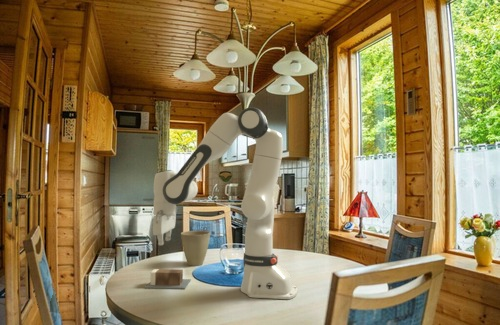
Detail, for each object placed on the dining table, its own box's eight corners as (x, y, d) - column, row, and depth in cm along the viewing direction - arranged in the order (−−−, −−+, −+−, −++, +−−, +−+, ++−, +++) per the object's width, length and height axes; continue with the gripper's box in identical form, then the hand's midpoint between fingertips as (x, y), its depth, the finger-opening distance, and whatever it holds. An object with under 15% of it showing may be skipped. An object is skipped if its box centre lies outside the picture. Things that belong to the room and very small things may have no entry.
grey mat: (190, 280, 143) (190, 279, 143) (184, 289, 132) (184, 287, 132) (153, 280, 144) (153, 278, 144) (144, 288, 133) (144, 286, 133)
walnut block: (182, 269, 140) (154, 269, 141) (179, 272, 135) (150, 272, 136) (182, 281, 140) (154, 281, 140) (179, 285, 135) (150, 284, 135)
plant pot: (211, 260, 178) (212, 230, 179) (207, 268, 163) (208, 235, 164) (183, 260, 178) (184, 230, 179) (177, 267, 164) (177, 235, 164)
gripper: (164, 211, 129) (164, 247, 128) (178, 207, 149) (178, 238, 148) (148, 211, 129) (148, 248, 128) (164, 207, 149) (164, 238, 149)
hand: (164, 242), depth 138 cm, fingers open, 8 cm apart
